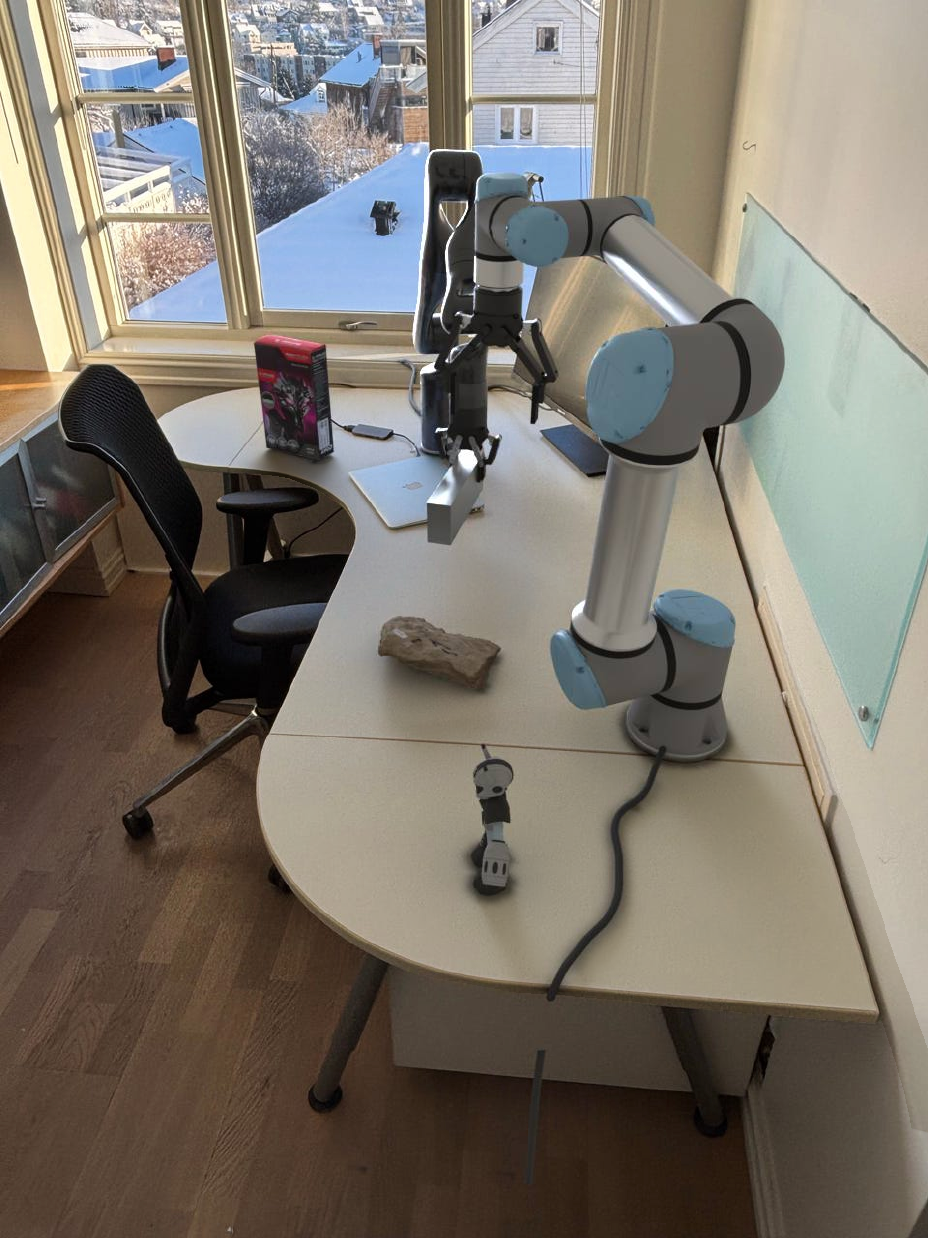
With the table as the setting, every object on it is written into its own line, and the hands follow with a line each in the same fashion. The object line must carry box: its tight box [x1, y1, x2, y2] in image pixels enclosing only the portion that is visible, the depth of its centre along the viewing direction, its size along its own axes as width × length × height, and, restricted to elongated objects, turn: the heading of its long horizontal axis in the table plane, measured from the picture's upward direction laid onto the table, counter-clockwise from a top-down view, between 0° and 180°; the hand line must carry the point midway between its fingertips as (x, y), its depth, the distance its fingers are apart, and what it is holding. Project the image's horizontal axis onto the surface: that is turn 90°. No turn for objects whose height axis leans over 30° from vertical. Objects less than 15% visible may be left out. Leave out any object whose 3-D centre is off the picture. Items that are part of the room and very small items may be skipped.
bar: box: [426, 449, 484, 546], centre depth 183 cm, size 25×5×8 cm, turn 165°
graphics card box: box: [253, 333, 335, 461], centre depth 223 cm, size 17×7×27 cm, turn 62°
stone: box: [377, 615, 502, 691], centre depth 155 cm, size 21×15×6 cm
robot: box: [470, 743, 515, 896], centre depth 114 cm, size 20×5×20 cm, turn 3°
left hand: (467, 479), depth 189 cm, fingers closed on bar, 4 cm apart
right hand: (494, 416), depth 153 cm, fingers open, 13 cm apart
